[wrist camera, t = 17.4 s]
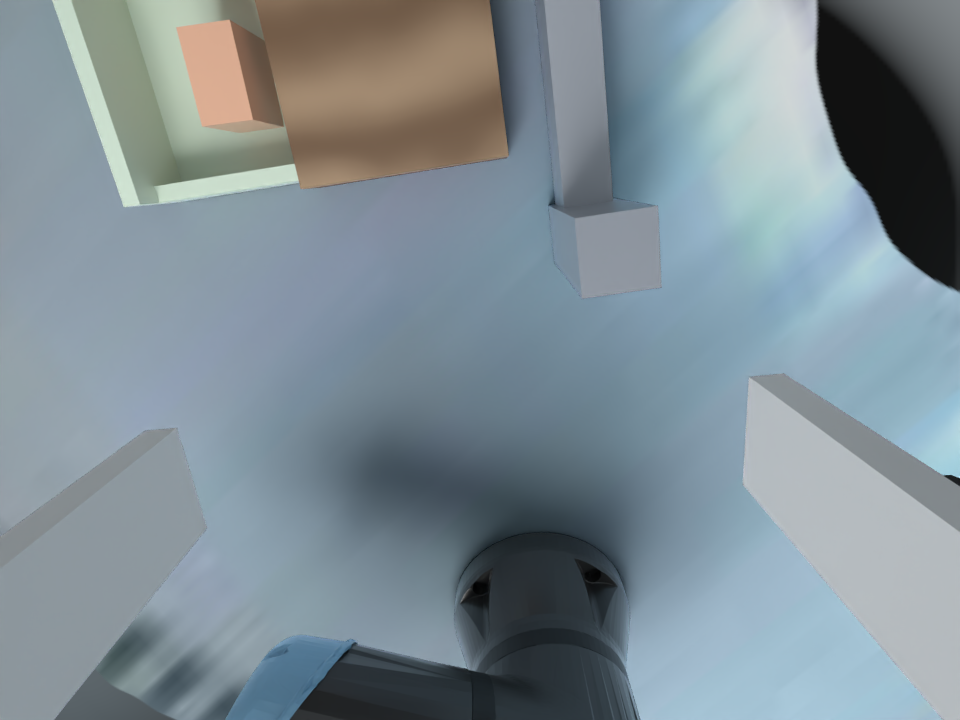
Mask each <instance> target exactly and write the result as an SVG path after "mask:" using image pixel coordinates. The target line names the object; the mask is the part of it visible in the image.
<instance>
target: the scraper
mask: <svg viewBox="0 0 960 720" xmlns="http://www.w3.org/2000/svg"><path fill="white" fill-rule="evenodd" d="M535 6H536V16H537V26H538V36H539V46H540V56H541V66H542V76H543V86H544V96H545V106H546V116H547V126H548V136H549V146H550V156H551V165H552V175H553V185H554V195H555V205H548V208H549V218H550V227H551V237H552V246H553V256H554V263H555V264H556V266H557V267H558V268H559V270H560V271H561V272H562V274H563V275H564V276H565V277H566V279H567V280H568V281H569V283H570V284H571V285H572V287H573V288H574V289H575V290H576V292H577V293H578V294H579V296H580V297H581V298H582V299H584V298H591V297H598V296H605V295H612V294H619V293H626V292H633V291H640V290H647V289H654V288H661V264H660V240H659V217H658V206H656V205H651V204H645V203H639V202H634V201H628V200H622V199H617V198H613V191H612V177H611V162H610V147H609V132H608V117H607V102H606V88H605V73H604V58H603V43H602V28H601V13H600V0H535Z"/></svg>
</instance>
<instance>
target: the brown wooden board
mask: <svg viewBox="0 0 960 720" xmlns="http://www.w3.org/2000/svg"><path fill="white" fill-rule="evenodd" d="M255 4H256V8H257V12H258V16H259V20H260V24H261V28H262V32H263V36H264V41H265V45H266V49H267V53H268V57H269V61H270V65H271V69H272V73H273V77H274V82H275V86H276V90H277V94H278V98H279V102H280V106H281V110H282V114H283V118H284V123H285V127H286V131H287V135H288V139H289V143H290V147H291V151H292V155H293V159H294V164H295V168H296V172H297V176H298V180H299V184H300V188H301V189H309V188H321V187H327V186H334V185H340V184H346V183H353V182H359V181H365V180H371V179H378V178H384V177H390V176H397V175H403V174H409V173H415V172H422V171H428V170H434V169H441V168H447V167H453V166H459V165H466V164H472V163H478V162H485V161H491V160H497V159H503V158H507V157H508V156H509V154H508V146H507V137H506V129H505V121H504V113H503V105H502V97H501V89H500V81H499V73H498V65H497V57H496V49H495V40H494V32H493V24H492V16H491V8H490V0H255Z"/></svg>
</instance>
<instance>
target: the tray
mask: <svg viewBox="0 0 960 720" xmlns="http://www.w3.org/2000/svg"><path fill="white" fill-rule="evenodd" d="M52 1H53V4H54V7H55V10H56V13H57V16H58V19H59V21H60V24H61V27H62V30H63V33H64V36H65V39H66V42H67V45H68V47H69V50H70V53H71V56H72V59H73V62H74V65H75V68H76V70H77V73H78V76H79V79H80V82H81V85H82V88H83V91H84V93H85V96H86V99H87V102H88V105H89V108H90V111H91V114H92V116H93V119H94V122H95V125H96V128H97V131H98V134H99V137H100V139H101V142H102V145H103V148H104V151H105V154H106V157H107V160H108V162H109V165H110V168H111V171H112V174H113V177H114V180H115V183H116V185H117V188H118V191H119V194H120V197H121V200H122V203H123V206H124V207H132V206H144V205H155V204H167V203H178V202H185V201H191V200H197V199H203V198H210V197H216V196H222V195H228V194H235V193H241V192H247V191H253V190H260V189H266V188H272V187H278V186H285V185H291V184H297V183H299V180H298V176H297V172H296V168H295V164H294V159H293V155H292V151H291V147H290V143H289V139H288V135H287V131H286V127H285V123H284V118H283V114H282V110H281V106H280V102H279V106H280V110H281V115H282V120H283V124H284V127H282V128H274V129H267V130H259V131H252V132H244V133H236V132H231V131H225V130H219V129H213V128H207V127H202V124H201V121H200V117H199V113H198V109H197V105H196V102H195V98H194V94H193V90H192V86H191V82H190V79H189V75H188V71H187V67H186V63H185V60H184V56H183V52H182V48H181V44H180V41H179V37H178V33H177V29H176V27H181V26H188V25H195V24H202V23H209V22H216V21H223V20H231V21H233V22H234V23H236V24H238V25H239V26H241V27H243V28H244V29H246V30H248V31H249V32H251V33H253V34H254V35H256V36H258V37H259V38H261V39H262V40H264V36H263V32H262V28H261V24H260V20H259V16H258V12H257V8H256V4H255V0H52ZM272 74H273V73H272ZM273 78H274V77H273ZM274 83H275V82H274ZM275 87H276V86H275ZM276 92H277V90H276ZM277 97H278V94H277ZM278 101H279V98H278Z"/></svg>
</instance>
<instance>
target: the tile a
mask: <svg viewBox="0 0 960 720" xmlns="http://www.w3.org/2000/svg"><path fill="white" fill-rule="evenodd" d="M176 29H177V33H178V37H179V41H180V44H181V48H182V52H183V56H184V60H185V63H186V67H187V71H188V75H189V79H190V82H191V86H192V90H193V94H194V98H195V102H196V105H197V109H198V113H199V117H200V121H201V124H202V127H207V128H213V129H219V130H225V131H231V132H236V133H244V132H252V131H259V130H267V129H274V128H282V127H284V124H283V120H282V115H281V110H280V106H279V101H278V97H277V92H276V87H275V83H274V78H273V74H272V69H271V65H270V61H269V57H268V53H267V49H266V45H265V41H264V40H262V39H261V38H259V37H258V36H256V35H254V34H253V33H251V32H249V31H248V30H246V29H244V28H243V27H241V26H239V25H238V24H236V23H234V22H233V21H231V20H223V21H216V22H209V23H202V24H195V25H188V26H181V27H176Z"/></svg>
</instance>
